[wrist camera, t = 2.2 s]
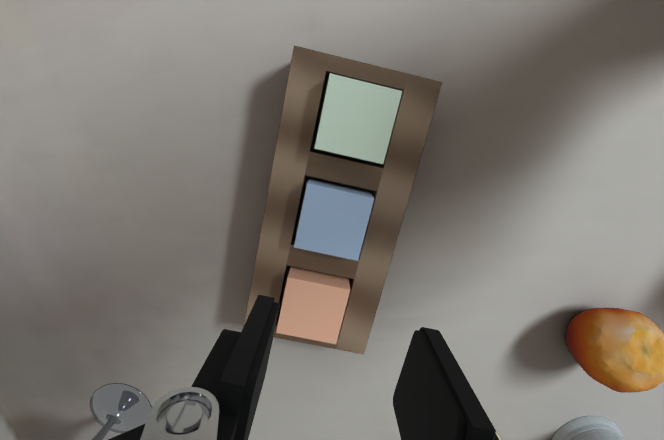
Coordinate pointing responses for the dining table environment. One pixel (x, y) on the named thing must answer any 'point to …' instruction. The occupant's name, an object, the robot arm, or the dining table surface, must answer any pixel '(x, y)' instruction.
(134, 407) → the wine glass
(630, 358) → the fruit
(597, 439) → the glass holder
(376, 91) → the sage key
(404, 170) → the key panel
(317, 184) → the slate key
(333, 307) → the terracotta key
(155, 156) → the dining table surface
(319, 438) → the dining table surface
